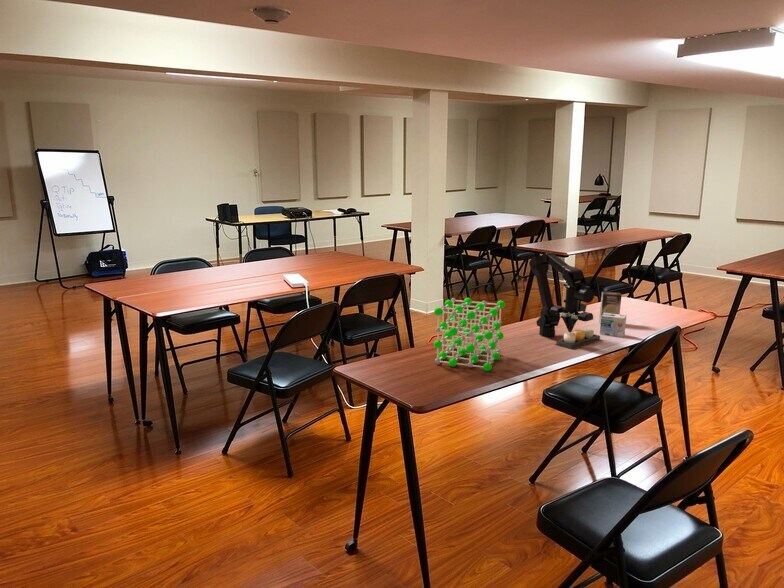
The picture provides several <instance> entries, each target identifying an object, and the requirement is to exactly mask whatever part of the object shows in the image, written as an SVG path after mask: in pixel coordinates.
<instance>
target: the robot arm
mask: <svg viewBox="0 0 784 588" xmlns="http://www.w3.org/2000/svg"><path fill="white" fill-rule="evenodd" d="M528 264H529V268H530V271H531V273H532V274H533V275H534V276H535V278H536V282H537V288H538V291H539V296H540V302H541V305H542V307H541V309H540V313H539V314H540V317H539V318H538V319H537V320H536V321H535V322H536V326H538V327H539V334H538V335H539V336H540V337H543V338H550V339H553V338H555V337H556V329H555V328H556V327H558V326H559V324H560V320H561V319H562V321H563V323H564V324H565V327H566V330H567V333H573V331H574V330H573V329H574V328H575V326H576V323H577V322H578V320H579V321H581V322H589V321H592V320H594V314H593V313H592V312H588V311H587V310H586V309H587V304H589V303H591V302H592V301H593V300H594V297H595V293H594V291H593V290H592V289H591V286H588V283H587V282H588V281H587V280H586V278H585V275H584V272H583V270H582V269H581V268H578V267H575V266H571V265H570V264H568V263H567V262H565V261H564V260H563V259H561V258H560V257H558V256H557V255H556V253H554V252H545V253H543V254H540V255H539V256H534V257H531V258H530V259H529V263H528ZM549 265H550V266H551V267H553V268H554V269H555V270H556V271H558V272H559V274H561V277H562V279H563V280H564V281H565V283H563V284H562V286H563V287H565V299H563V303H564V306H561V305H554V300H553V297H552V292H551V287H550V283H549V278H548V272H549V268H550V266H549ZM582 302H583V303H582ZM584 303H586V304H584Z"/></svg>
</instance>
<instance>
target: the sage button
mask: <svg viewBox="0 0 784 588" xmlns="http://www.w3.org/2000/svg"><path fill="white" fill-rule="evenodd" d="M582 330H583V331H585V337H586V338H591V337H593V334H595V331H594V330H593V329H588V328H587V329H586V328H585V329H584V328H583V329H582Z"/></svg>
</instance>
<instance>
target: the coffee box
mask: <svg viewBox="0 0 784 588" xmlns="http://www.w3.org/2000/svg"><path fill="white" fill-rule="evenodd" d="M622 296H623V295H622V293H621V292H616V291H601V298H600V307H599V319H598V320H599V322H598V323H599V325H600V324H601V316H602V314H603V313H611V314H620V313H621V306H622V304H621V303H622ZM620 315H621V314H620Z"/></svg>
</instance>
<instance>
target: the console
mask: <svg viewBox="0 0 784 588" xmlns="http://www.w3.org/2000/svg"><path fill="white" fill-rule="evenodd" d="M601 341H602V339H601V335H600V334H595V333H594V334H593V337H591V338H586V337H585V338H584V340H582V341H578V340H575V343H573V344H569V343H565V342H564V338H562V339H558V340H556V343H554V344H553V345H554V346H557V347H561V348H565V349H569V350H572V351H574V350H577V349H579V348H583V347H586V346H589V345H592V344H595V343H598V342H601Z"/></svg>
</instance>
